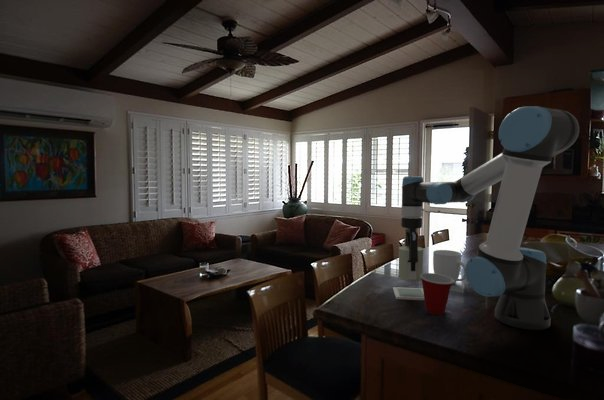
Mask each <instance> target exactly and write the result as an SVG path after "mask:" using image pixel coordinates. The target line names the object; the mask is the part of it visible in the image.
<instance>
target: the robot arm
mask: <svg viewBox="0 0 604 400" xmlns="http://www.w3.org/2000/svg"><path fill="white" fill-rule="evenodd" d="M579 134H580V125H579V122H578V119H577V118H576V117H575V116H574V115H573V114H572V113H570V112H569V111H566V110H565V109H564V110H563V109H559V108H550V107H543V106H537V105H534V106H531V105H530V106H528V105H527V106H521V107H518V108H516V109H513V110H512V111H511V112H509V113H508V114H507V115H506V116H505V117H504V119H502V121H501V123H500V126H499V128H498V140H499V141H500V144H501V146H502V147H503V150H502V152H501V153H499V154H498V155H496V156H495V157H493V158H492V159H490V160H488V161H486V162H485V163H483V164H482V165H480V166H478V167H476V168H475V169H473V170H472V171H470V172H469V173H467V174H465V175H464V176H462V177H461V178H459V179H457V180H455V181H424V177H423V176H422V175H421V176H419V175H418V176H417V175H416V176H415V175H413V176H412V175H411V176H410V175H409V176H407V175H406V176H404V177H402V185H401V216H402V217H401V219H400V220H401V222H400V223H401V227H402V228H405V234H404V235H405V239H404V240H405V243H404V246H409V251H410V252H409V259H410V260H408V262H409V277H408V279H412V280H416V272H417V262H418V247H419V245H418V244H419V243H418V238H419V235H418V232H417V229H422V227H423V218H422V216H423V212H424V211H425V208H423V204H432V205H433V204H434V205H446V204H450V203H466V202H470V201H472V200H474V199H475V197H476V196H477V194H479V193H481V192H482V191H484V190H486V189H488V188H491V186H494V185H496V184H497V183H499V182H501V183H500V186H499V190H498V195H497V197H496V198H497V199H496V202H495V206H494V210H493V212H492V213H493V214H492V218H491V221H490V226H489V229H488V233H487V238H486V241H484V242H482V243H480V244H479V245H478V249H477V253H476V256H473V257H471V258H470V259H469V260H468V261H467V262H466V264H465V265H466V267H465V274H466V281H467V282H468V283H469V286H470V287H471V289H473V291H475V292H476V293H477V294H479V295H481V296H483V297H490V298H491V297H499V298H498V300H497V303H496V306H495V307H494V318H495V319H496V320H497V321H499V322H500V323H503V324H505V325H508V326H510V327H514V328H518V329H522V330H531V331H533V330H534V331H539V330H540V331H541V330H547V329H549V328H550V327H551V320H552V319H551V315H550V313H549V312H550V311H549V309H548V306H547V303H546V297H545V296H546V295H545V293H546V279H547V277H546V275H547V265H548V263H547V255H546V253H545V252H544V251H541V250H539V249H533V248H530V247H529V248H528V247H521V244H522V241H523V238H524V234H525V230H526V226H527V225H528V219H529V216H530V212H531V209H532V206H533V201H534V198H535V195H536V191H537V188H538V185H539V180H540V178H541V174H542V171H543V168H544V167H545V166H548V164H551V162H552V159H553V157H555V156H556V155H560V154H561V153H563V152H565V151H566V150H568V149H569V148H571V146H573V145H574V143H576V141H577V139H578V137H579Z"/></svg>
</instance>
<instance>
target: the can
mask: <svg viewBox="0 0 604 400" xmlns="http://www.w3.org/2000/svg"><path fill="white" fill-rule="evenodd" d="M424 250H425V249H424V248H423V247H420V246H418V262H417V272H416V280H412V279H408V277H409V262H408V260H410V259H409V252H410V251H409V246H405V245H403V246H399V247H398V274H397V278H398V279H399V280H402V281H405V282H413V283H414V282H420V281H421V282H422V279H421V277H420V275H421V274H423V272H424V269H423V268H424Z"/></svg>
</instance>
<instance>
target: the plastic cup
mask: <svg viewBox="0 0 604 400" xmlns="http://www.w3.org/2000/svg"><path fill="white" fill-rule="evenodd" d="M420 277H421V279H422V280H421V283H422V288H423V292H424V300H423V301H424V303H425V304H424V305H425V310H426V312H427V313H429V314H432V315H436V316H439V315H440V316H441V315H444V314H445V313H446V308H447V305H448V300H449V297H450V296H449V295H450V290H451V289H452V288H451V287H452V286H453V285H454V284H453V283H454V280H453V279H452V278H450V277H448V276H444V275H440V274H434V272H425V273H423V274H421V275H420ZM452 284H453V285H452Z"/></svg>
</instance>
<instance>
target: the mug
mask: <svg viewBox="0 0 604 400" xmlns="http://www.w3.org/2000/svg"><path fill="white" fill-rule="evenodd" d="M432 255H433V256H432V267H433V268H432V269H433V273H434V274H440V275H444V276H448V277H450V278H452V279H453V280H454V283H453V285H455V284H456V283H457V282H463V281H465V280H467V278H466V274H465V267H466V264H465V262H464V261H462V253H461V252H459V251H455V250H449V249H436V250H433V254H432ZM461 267H462V268H463V272H464V273H463V277H462V278H459V277H460V273H461V269H462V268H461Z"/></svg>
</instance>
